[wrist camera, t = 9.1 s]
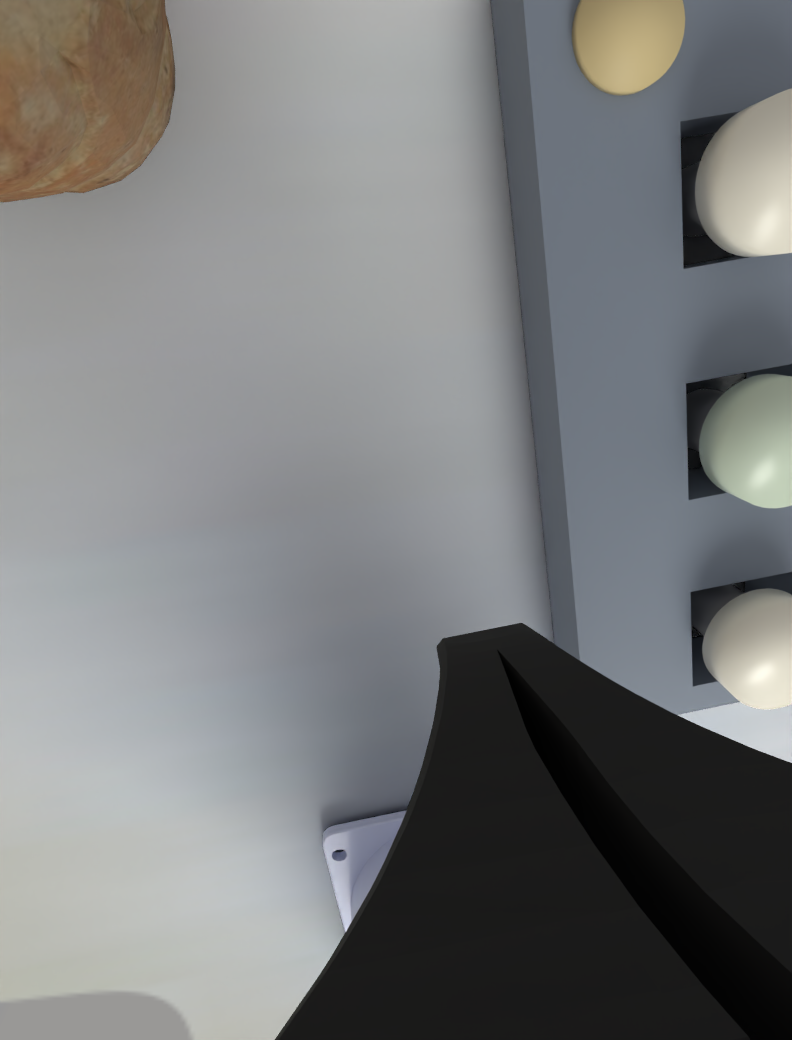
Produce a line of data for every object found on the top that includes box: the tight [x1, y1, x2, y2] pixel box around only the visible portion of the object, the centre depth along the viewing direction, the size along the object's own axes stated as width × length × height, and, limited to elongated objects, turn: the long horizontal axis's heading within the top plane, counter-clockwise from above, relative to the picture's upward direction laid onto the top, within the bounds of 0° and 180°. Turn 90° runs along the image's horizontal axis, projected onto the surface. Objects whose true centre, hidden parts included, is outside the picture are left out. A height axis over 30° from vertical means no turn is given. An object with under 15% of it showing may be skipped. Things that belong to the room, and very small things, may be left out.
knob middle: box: [686, 374, 792, 508], centre depth 18 cm, size 3×3×4 cm
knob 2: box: [691, 584, 792, 709], centre depth 20 cm, size 3×3×4 cm
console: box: [491, 0, 792, 715], centre depth 18 cm, size 20×10×3 cm, turn 10°
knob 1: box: [681, 89, 792, 257], centre depth 16 cm, size 3×3×4 cm
